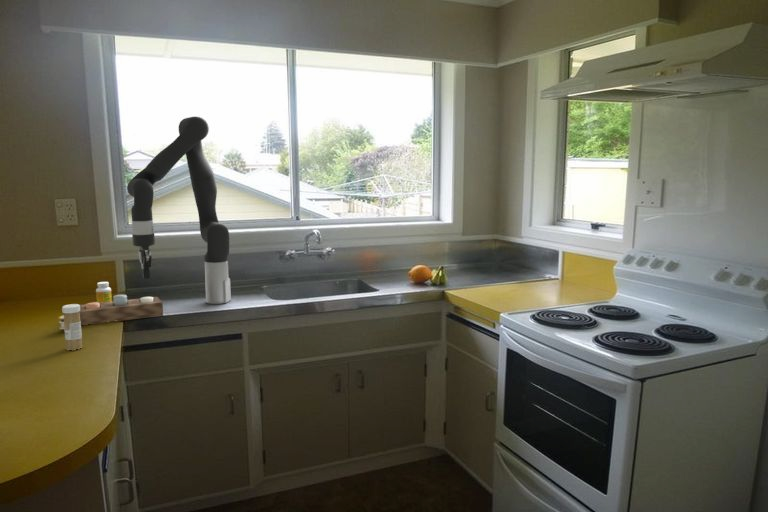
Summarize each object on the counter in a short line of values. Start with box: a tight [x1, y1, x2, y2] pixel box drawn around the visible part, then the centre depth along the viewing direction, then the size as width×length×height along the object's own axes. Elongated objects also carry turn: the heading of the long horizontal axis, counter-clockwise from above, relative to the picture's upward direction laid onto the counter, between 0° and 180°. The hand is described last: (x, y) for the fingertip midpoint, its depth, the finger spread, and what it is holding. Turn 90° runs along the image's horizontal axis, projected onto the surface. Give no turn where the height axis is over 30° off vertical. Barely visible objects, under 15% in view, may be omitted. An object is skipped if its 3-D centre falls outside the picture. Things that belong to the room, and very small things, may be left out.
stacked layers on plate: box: [58, 314, 64, 330], centre depth 175 cm, size 10×9×6 cm
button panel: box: [79, 296, 164, 326], centre depth 192 cm, size 27×11×5 cm, turn 123°
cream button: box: [139, 296, 154, 303], centre depth 197 cm, size 4×4×5 cm
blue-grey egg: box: [112, 294, 128, 306], centre depth 192 cm, size 4×4×5 cm
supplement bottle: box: [95, 281, 113, 303], centre depth 207 cm, size 5×5×10 cm
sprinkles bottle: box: [61, 303, 84, 351], centre depth 156 cm, size 5×5×14 cm
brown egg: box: [85, 301, 100, 309], centre depth 187 cm, size 4×4×5 cm
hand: (146, 278), depth 196 cm, fingers closed
